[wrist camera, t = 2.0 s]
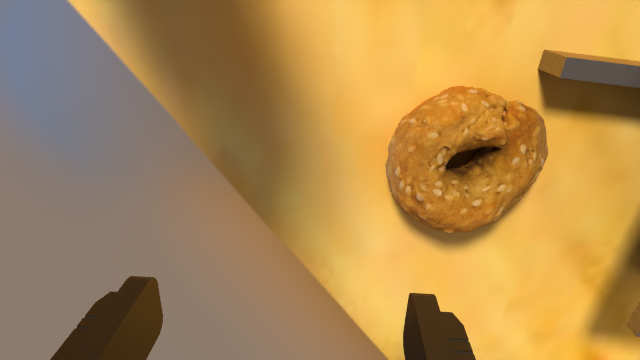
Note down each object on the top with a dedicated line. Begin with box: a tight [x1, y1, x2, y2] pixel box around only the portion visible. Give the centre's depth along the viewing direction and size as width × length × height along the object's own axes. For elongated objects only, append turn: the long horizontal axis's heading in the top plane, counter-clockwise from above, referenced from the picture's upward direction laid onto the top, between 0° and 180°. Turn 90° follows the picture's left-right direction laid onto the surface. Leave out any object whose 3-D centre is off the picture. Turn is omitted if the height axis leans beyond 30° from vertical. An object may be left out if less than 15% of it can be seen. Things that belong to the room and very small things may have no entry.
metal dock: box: [538, 50, 640, 337], centre depth 27 cm, size 14×16×8 cm
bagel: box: [385, 86, 548, 233], centre depth 28 cm, size 10×11×5 cm
